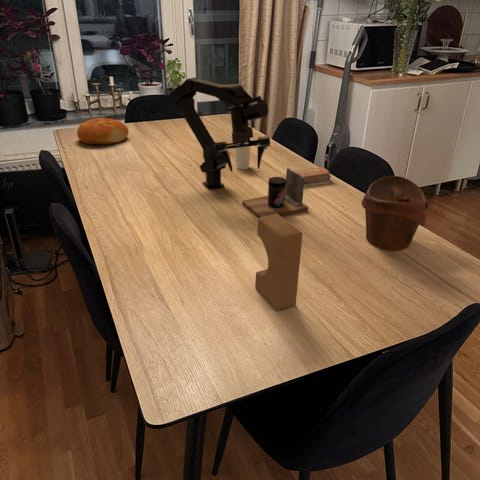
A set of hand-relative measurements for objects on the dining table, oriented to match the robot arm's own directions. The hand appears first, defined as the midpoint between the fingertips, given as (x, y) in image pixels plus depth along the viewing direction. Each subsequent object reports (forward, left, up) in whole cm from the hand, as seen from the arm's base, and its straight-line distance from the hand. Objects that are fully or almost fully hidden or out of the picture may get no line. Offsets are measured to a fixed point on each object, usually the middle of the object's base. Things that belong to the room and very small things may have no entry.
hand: (245, 170), depth 155 cm
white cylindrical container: (-32, +15, -12) cm, 37 cm away
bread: (-93, -29, -12) cm, 98 cm away
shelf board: (+8, +7, -12) cm, 16 cm away
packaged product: (-7, +31, -13) cm, 34 cm away
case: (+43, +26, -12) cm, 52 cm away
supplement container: (+9, +7, -11) cm, 16 cm away
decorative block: (+52, -19, -12) cm, 57 cm away
